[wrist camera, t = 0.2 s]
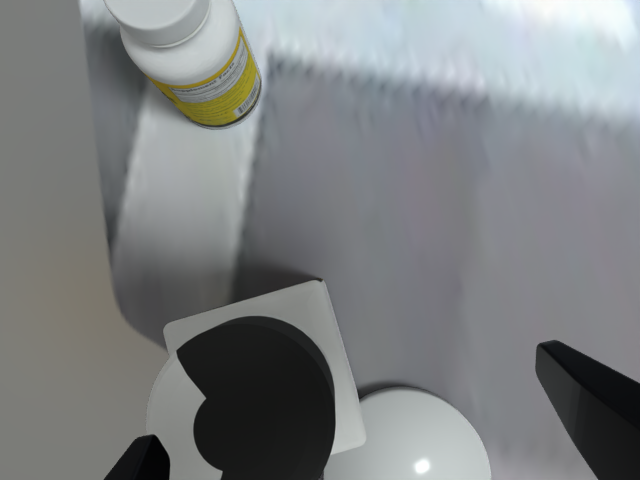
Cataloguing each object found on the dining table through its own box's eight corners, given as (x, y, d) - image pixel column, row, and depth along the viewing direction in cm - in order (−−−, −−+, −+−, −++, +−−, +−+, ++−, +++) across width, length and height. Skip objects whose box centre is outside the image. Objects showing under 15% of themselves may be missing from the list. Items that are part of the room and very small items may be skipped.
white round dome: (516, 476, 23) (526, 487, 22) (397, 586, 23) (401, 603, 22) (408, 353, 24) (412, 358, 23) (291, 458, 24) (289, 468, 23)
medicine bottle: (323, 276, 25) (316, 280, 13) (358, 395, 24) (385, 517, 12) (208, 310, 25) (91, 345, 13) (240, 429, 24) (149, 585, 12)
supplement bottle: (169, 57, 26) (72, -73, 16) (254, 40, 26) (208, -102, 16) (184, 140, 25) (92, 58, 16) (270, 123, 25) (232, 29, 16)
